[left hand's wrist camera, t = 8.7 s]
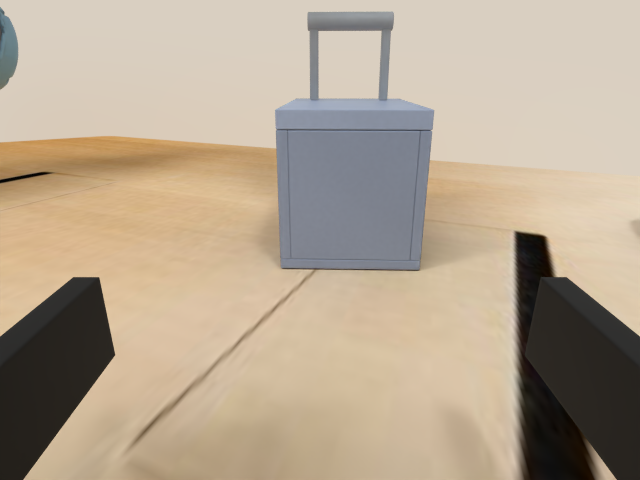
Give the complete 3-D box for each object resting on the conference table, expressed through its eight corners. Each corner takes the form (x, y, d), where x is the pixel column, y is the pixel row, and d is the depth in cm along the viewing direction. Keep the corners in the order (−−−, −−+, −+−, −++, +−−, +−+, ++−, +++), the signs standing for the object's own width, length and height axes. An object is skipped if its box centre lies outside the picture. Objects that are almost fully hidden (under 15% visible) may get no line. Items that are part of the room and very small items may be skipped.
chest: (297, 210, 44) (295, 113, 40) (393, 211, 43) (400, 113, 40) (280, 268, 30) (275, 130, 27) (419, 270, 30) (432, 130, 27)
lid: (296, 111, 41) (294, 16, 38) (398, 112, 41) (404, 16, 38) (275, 129, 27) (270, -20, 24) (432, 130, 27) (446, -21, 24)
